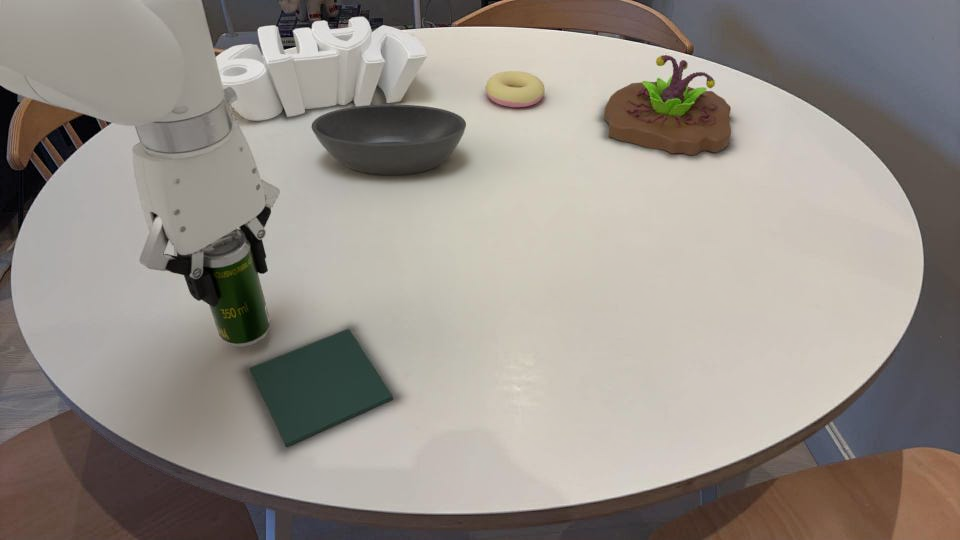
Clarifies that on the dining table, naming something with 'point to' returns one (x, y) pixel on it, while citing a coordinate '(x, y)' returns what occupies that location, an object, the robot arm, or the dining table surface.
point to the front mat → (319, 386)
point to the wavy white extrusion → (320, 68)
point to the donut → (515, 89)
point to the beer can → (236, 290)
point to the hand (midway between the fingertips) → (231, 282)
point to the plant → (670, 114)
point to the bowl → (390, 137)
